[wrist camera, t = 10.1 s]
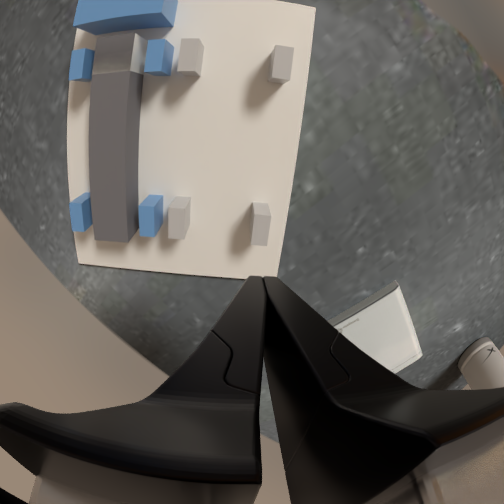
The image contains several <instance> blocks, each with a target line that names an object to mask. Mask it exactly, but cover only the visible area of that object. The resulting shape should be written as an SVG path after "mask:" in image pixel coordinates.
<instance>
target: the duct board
mask: <svg viewBox="0 0 504 504" xmlns="http://www.w3.org/2000/svg"><path fill="white" fill-rule="evenodd" d="M315 10H316V8H314V7H309V6H304V5H299V4H294V3H288V2H282V1H276V0H79V1H78V5H77V9H76V14H75V18H74V23H73V27H76V28H77V32H76V38H75V44H74V50H73V51H72V55H71V63H70V71H69V81H70V84H69V96H68V116H67V161H68V181H69V195H70V203H69V207H70V216H71V224H72V231H74V238H75V244H76V250H77V256H78V262H79V263H80V264H89V265H98V266H107V267H116V268H126V269H136V270H146V271H156V272H167V273H178V274H190V275H201V276H214V277H226V278H239V279H247V278H248V277H249V276H250V275H252V276H262V277H264V276H275V277H277V272H278V267H279V261H280V255H281V250H282V244H283V238H284V232H285V226H286V220H287V214H288V208H289V202H290V196H291V190H292V184H293V177H294V171H295V164H296V158H297V151H298V144H299V138H300V131H301V124H302V116H303V109H304V102H305V94H306V87H307V79H308V71H309V63H310V55H311V46H312V38H313V29H314V20H315ZM129 33H137V34H138V35H139V36H141V37H142V38H144V39H145V40H147V41H148V44H147V51H146V59H145V67H144V76H143V86H142V98H141V111H140V129H139V159H138V195H139V206H138V207H139V229H138V230H137V232H136V233H135V234H134V236H133V237H132V238H131V240H130V241H129V243H124V242H112V241H99V240H95V239H94V230H93V221H92V211H91V198H90V182H89V107H90V92H91V80H92V70H93V62H94V54H95V47H96V41H97V38H101V37H107V36H114V35H121V34H129Z"/></svg>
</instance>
